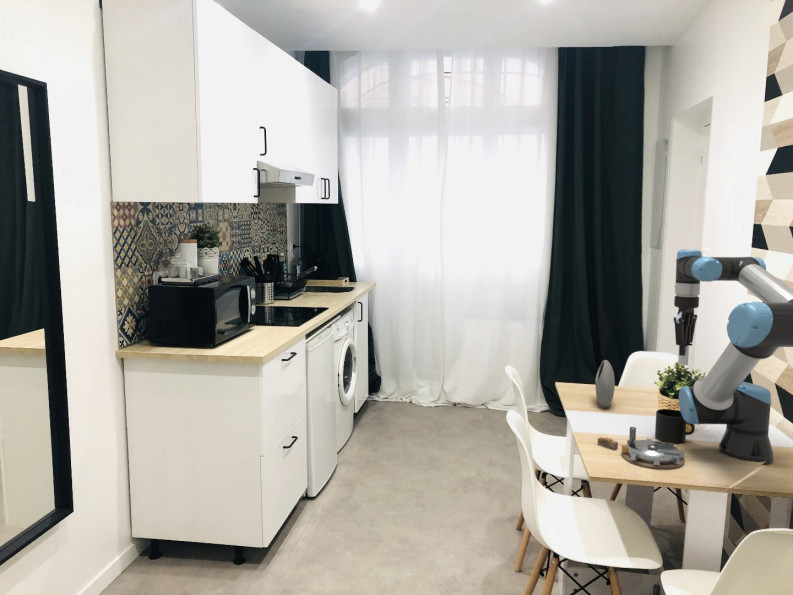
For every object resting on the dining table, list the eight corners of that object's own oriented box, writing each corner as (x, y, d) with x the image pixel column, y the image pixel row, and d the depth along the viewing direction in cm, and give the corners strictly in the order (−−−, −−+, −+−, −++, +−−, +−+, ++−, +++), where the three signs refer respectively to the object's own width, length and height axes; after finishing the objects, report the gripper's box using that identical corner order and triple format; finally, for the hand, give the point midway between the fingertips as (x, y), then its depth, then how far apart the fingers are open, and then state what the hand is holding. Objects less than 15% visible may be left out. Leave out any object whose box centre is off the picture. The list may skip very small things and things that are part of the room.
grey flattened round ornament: (593, 400, 257) (595, 355, 255) (611, 401, 255) (613, 356, 253) (595, 413, 239) (597, 365, 237) (615, 414, 237) (617, 366, 235)
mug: (691, 447, 203) (693, 420, 202) (652, 440, 209) (653, 414, 208) (695, 439, 211) (697, 412, 210) (657, 432, 217) (658, 407, 216)
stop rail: (617, 449, 201) (618, 440, 200) (614, 450, 200) (614, 442, 199) (600, 444, 205) (601, 435, 205) (597, 445, 204) (597, 437, 204)
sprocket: (678, 447, 199) (679, 422, 198) (689, 468, 182) (690, 441, 181) (619, 442, 204) (620, 418, 203) (624, 462, 187) (625, 436, 186)
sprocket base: (694, 459, 192) (694, 456, 192) (667, 474, 181) (667, 472, 181) (639, 444, 206) (639, 441, 206) (610, 457, 194) (610, 454, 194)
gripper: (684, 293, 217) (680, 360, 220) (666, 295, 209) (663, 365, 212) (706, 295, 212) (702, 363, 215) (689, 297, 203) (685, 369, 206)
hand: (683, 364), depth 213 cm, fingers closed
